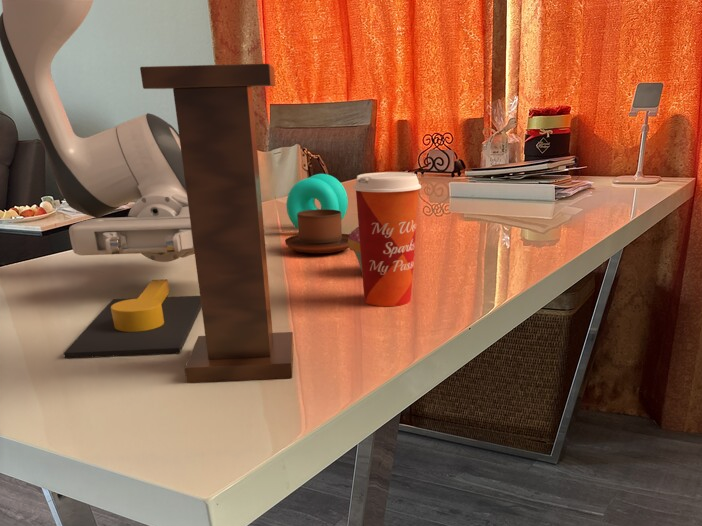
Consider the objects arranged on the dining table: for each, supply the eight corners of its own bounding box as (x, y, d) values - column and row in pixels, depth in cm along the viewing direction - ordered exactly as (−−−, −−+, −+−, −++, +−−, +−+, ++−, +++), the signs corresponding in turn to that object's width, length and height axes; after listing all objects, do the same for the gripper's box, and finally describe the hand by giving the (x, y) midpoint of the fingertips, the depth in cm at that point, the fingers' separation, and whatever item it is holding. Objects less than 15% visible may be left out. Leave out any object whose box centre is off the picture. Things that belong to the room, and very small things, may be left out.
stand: (186, 383, 68) (139, 66, 55) (200, 349, 76) (162, 69, 64) (292, 378, 68) (269, 63, 56) (293, 345, 77) (274, 67, 64)
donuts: (350, 227, 142) (348, 173, 137) (337, 236, 133) (335, 179, 128) (302, 226, 144) (298, 173, 139) (286, 235, 135) (282, 178, 130)
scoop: (140, 293, 96) (137, 275, 95) (182, 292, 96) (180, 274, 95) (109, 333, 80) (105, 312, 79) (159, 331, 81) (156, 310, 79)
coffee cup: (378, 312, 87) (377, 180, 80) (344, 298, 94) (340, 174, 86) (433, 301, 91) (436, 174, 84) (396, 289, 97) (396, 169, 90)
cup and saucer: (279, 247, 125) (276, 210, 122) (344, 241, 128) (343, 205, 125) (295, 260, 115) (292, 220, 112) (365, 254, 118) (364, 215, 115)
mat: (64, 358, 75) (63, 352, 75) (113, 303, 94) (112, 299, 94) (179, 353, 75) (179, 347, 75) (205, 299, 95) (204, 295, 94)
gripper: (80, 205, 96) (48, 221, 84) (232, 200, 97) (222, 216, 85) (90, 253, 99) (60, 276, 87) (237, 248, 100) (228, 269, 88)
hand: (142, 246), depth 86 cm, fingers open, 6 cm apart
